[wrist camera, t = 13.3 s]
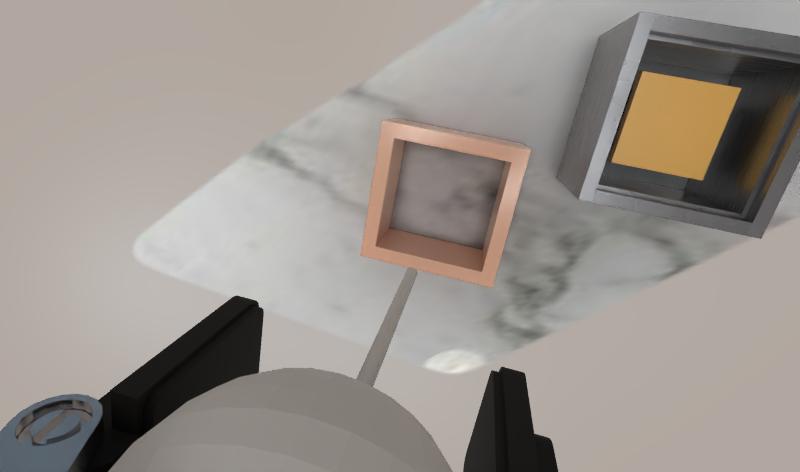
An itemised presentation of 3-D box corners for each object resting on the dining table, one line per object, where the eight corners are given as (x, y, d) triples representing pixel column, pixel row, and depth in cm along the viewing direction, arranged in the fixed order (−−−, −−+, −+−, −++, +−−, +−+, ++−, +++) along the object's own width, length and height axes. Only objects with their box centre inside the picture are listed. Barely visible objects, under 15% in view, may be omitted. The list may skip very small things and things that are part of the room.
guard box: (754, 62, 28) (856, 45, 20) (693, 206, 31) (761, 238, 23) (599, 36, 29) (640, 11, 21) (556, 177, 32) (578, 199, 25)
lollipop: (375, 350, 19) (70, 1038, 5) (319, 234, 18) (-284, 707, 4) (507, 312, 17) (610, 1202, 3) (454, 180, 16) (265, 689, 2)
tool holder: (524, 143, 32) (531, 150, 27) (491, 263, 35) (492, 287, 30) (396, 118, 33) (382, 120, 28) (376, 236, 36) (360, 255, 32)
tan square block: (708, 90, 28) (741, 88, 25) (676, 171, 30) (702, 180, 26) (623, 75, 29) (642, 71, 25) (596, 155, 31) (611, 162, 27)
